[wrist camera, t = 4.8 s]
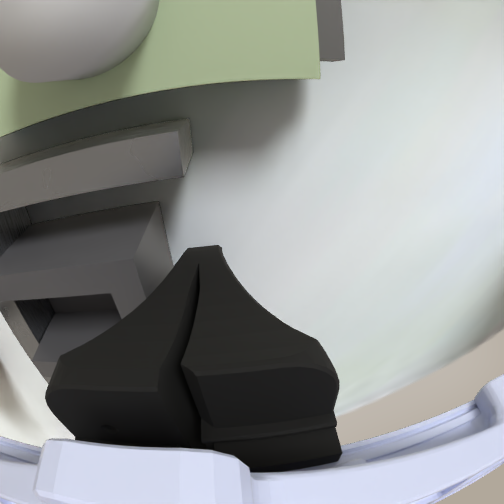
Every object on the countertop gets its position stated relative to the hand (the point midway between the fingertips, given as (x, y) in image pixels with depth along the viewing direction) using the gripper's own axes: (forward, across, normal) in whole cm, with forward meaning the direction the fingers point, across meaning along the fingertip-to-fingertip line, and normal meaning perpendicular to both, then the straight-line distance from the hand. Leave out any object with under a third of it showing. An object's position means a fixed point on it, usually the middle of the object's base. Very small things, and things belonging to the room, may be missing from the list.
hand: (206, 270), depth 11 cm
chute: (+1, +4, 0) cm, 5 cm away
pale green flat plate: (+1, +2, -9) cm, 9 cm away
